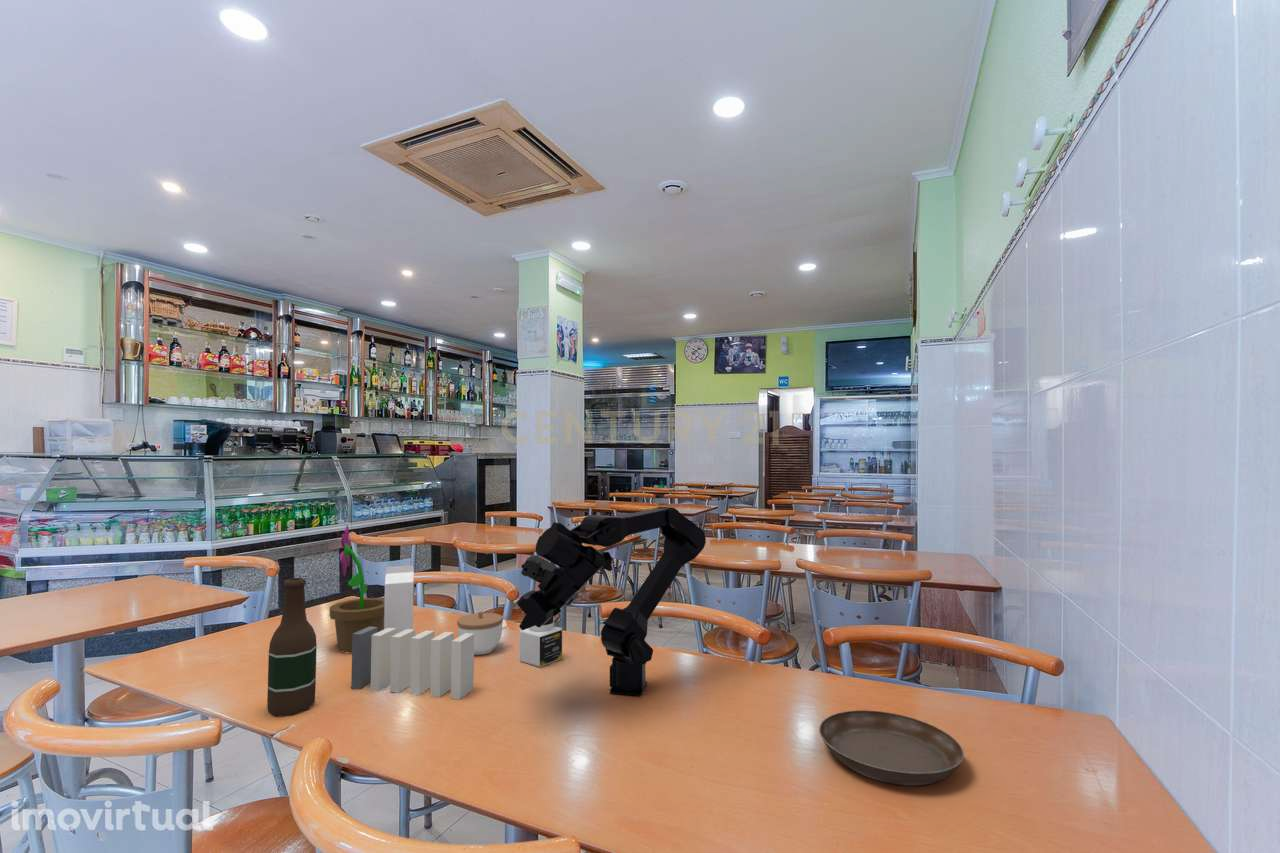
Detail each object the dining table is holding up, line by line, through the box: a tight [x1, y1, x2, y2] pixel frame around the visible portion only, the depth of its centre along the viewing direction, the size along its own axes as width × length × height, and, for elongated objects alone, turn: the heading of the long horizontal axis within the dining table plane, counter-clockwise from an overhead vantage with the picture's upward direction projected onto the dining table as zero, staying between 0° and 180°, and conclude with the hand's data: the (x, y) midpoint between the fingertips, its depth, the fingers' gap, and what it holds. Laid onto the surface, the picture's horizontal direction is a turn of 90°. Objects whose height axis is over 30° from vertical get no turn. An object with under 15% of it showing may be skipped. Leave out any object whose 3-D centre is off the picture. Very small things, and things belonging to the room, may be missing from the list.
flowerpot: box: [329, 524, 385, 653], centre depth 146 cm, size 14×14×30 cm
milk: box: [384, 565, 415, 634], centre depth 133 cm, size 6×6×22 cm
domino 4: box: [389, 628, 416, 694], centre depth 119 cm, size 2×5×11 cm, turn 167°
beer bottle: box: [266, 577, 318, 717], centre depth 110 cm, size 8×8×24 cm
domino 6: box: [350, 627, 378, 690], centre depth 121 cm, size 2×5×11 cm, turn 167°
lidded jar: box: [457, 610, 504, 656], centre depth 141 cm, size 11×11×9 cm
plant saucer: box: [818, 709, 965, 786], centre depth 91 cm, size 21×21×3 cm
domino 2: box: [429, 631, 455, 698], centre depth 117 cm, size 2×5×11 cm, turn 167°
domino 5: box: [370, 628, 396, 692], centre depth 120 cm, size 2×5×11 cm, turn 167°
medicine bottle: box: [518, 616, 563, 668], centre depth 135 cm, size 7×7×12 cm
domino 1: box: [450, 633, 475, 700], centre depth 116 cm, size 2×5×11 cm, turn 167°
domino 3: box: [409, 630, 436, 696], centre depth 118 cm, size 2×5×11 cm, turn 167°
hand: (521, 628), depth 114 cm, fingers closed
